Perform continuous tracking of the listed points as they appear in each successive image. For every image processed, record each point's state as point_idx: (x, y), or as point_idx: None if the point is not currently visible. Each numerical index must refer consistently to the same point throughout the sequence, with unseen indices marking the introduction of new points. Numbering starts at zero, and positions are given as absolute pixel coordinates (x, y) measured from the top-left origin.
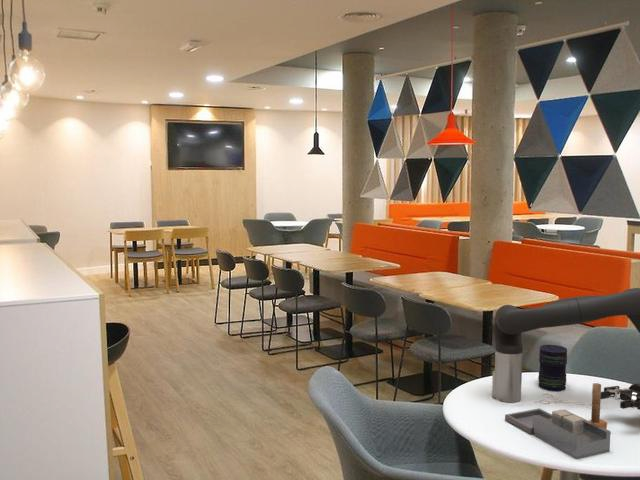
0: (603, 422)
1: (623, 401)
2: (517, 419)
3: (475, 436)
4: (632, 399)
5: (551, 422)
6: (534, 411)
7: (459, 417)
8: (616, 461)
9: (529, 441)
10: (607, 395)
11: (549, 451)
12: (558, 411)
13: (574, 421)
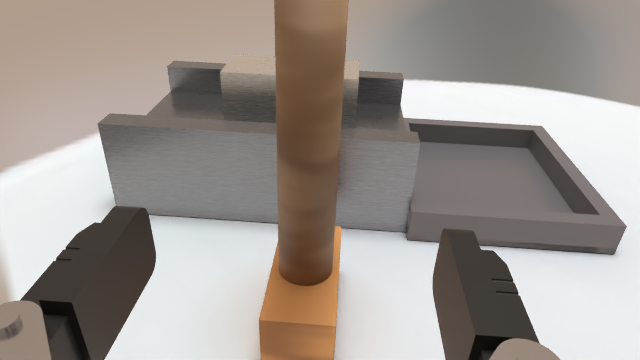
0: (267, 295)
1: (115, 213)
2: (531, 163)
3: (432, 82)
4: (17, 311)
5: None
6: (585, 201)
7: (575, 102)
8: (62, 180)
9: None
10: (456, 351)
11: None
12: (345, 67)
13: (233, 57)
